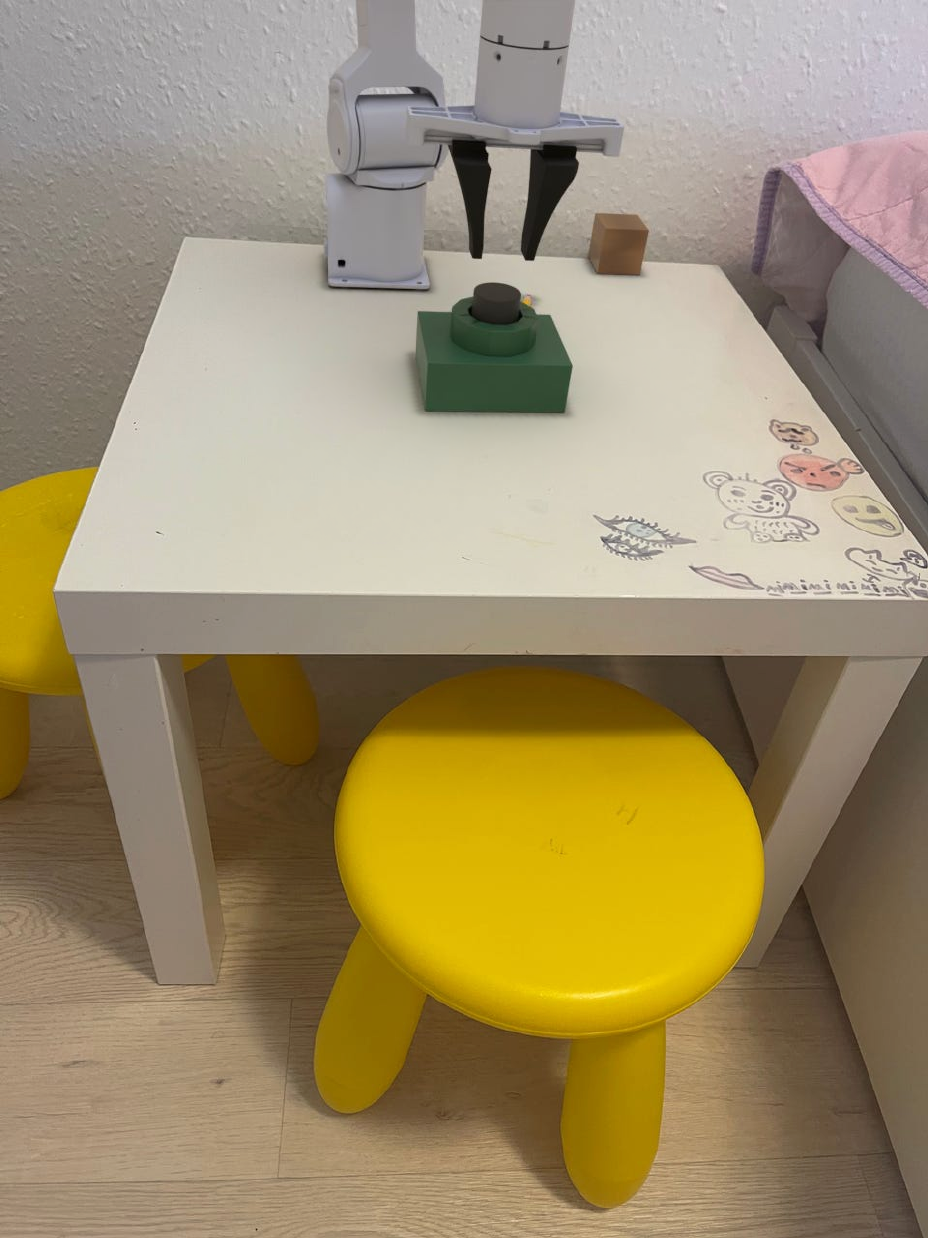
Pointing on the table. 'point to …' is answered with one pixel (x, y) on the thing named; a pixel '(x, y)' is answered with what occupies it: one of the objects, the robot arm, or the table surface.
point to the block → (617, 243)
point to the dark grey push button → (496, 303)
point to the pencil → (527, 299)
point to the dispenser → (491, 362)
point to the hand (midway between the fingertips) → (501, 254)
